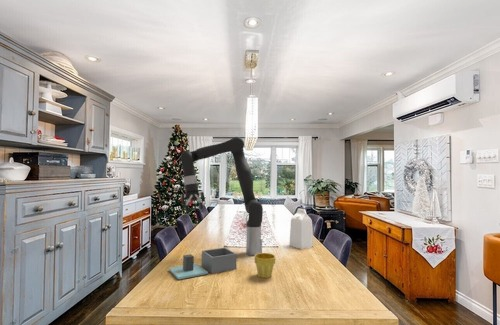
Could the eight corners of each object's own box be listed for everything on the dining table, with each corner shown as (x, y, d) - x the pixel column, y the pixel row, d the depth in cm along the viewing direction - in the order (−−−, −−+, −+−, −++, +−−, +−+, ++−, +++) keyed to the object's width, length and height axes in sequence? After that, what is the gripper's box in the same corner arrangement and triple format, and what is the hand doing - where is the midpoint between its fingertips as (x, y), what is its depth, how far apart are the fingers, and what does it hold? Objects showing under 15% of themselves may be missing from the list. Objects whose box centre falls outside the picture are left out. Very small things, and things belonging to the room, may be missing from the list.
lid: (196, 266, 149) (196, 250, 150) (207, 275, 137) (208, 257, 137) (168, 271, 141) (169, 254, 142) (178, 281, 129) (178, 262, 129)
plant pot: (273, 280, 130) (274, 259, 131) (252, 278, 133) (252, 258, 133) (276, 272, 141) (276, 253, 141) (256, 271, 143) (256, 252, 143)
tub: (224, 261, 157) (225, 247, 158) (236, 269, 145) (236, 253, 146) (201, 265, 150) (201, 250, 150) (211, 273, 138) (212, 257, 138)
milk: (313, 247, 192) (313, 209, 193) (301, 249, 185) (301, 210, 186) (301, 243, 202) (301, 207, 203) (289, 245, 195) (289, 208, 196)
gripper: (181, 184, 159) (185, 212, 157) (204, 181, 167) (208, 208, 165) (177, 185, 165) (180, 212, 163) (199, 183, 173) (202, 209, 171)
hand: (194, 210), depth 164 cm, fingers open, 8 cm apart
